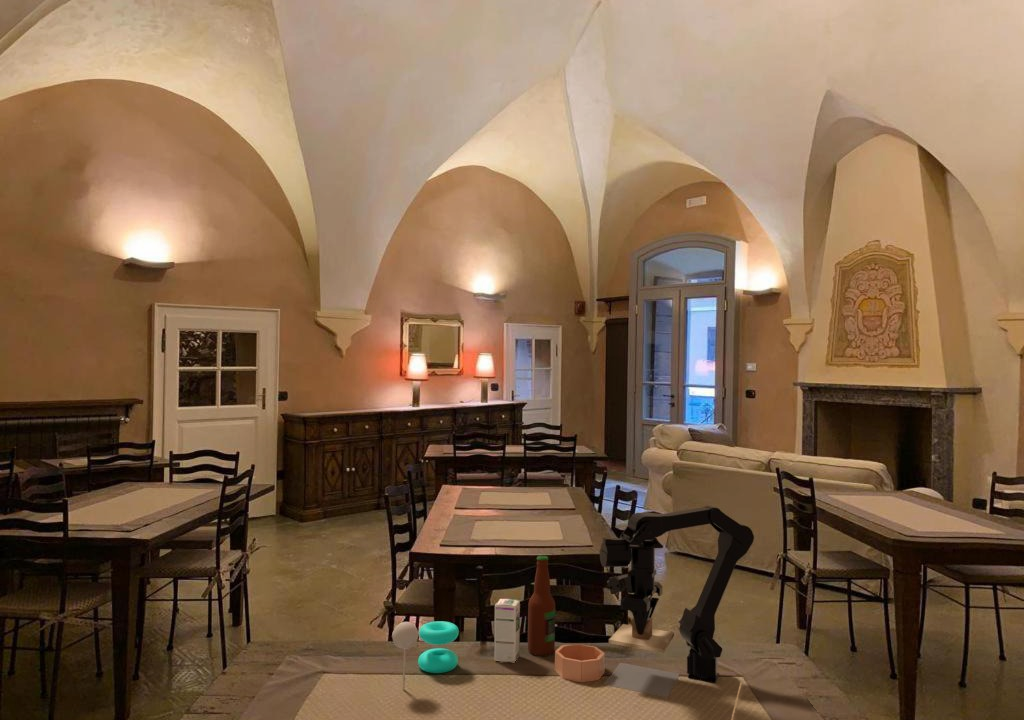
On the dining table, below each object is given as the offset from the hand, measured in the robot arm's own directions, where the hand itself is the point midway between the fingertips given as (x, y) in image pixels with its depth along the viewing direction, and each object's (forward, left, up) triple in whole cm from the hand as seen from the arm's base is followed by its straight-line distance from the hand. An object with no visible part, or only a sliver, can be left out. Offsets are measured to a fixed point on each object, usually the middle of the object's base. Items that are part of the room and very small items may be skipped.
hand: (642, 631), depth 154 cm
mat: (0, 0, -12) cm, 12 cm away
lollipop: (+48, +31, -12) cm, 58 cm away
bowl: (+15, +3, -12) cm, 19 cm away
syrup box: (+35, +3, -12) cm, 37 cm away
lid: (0, 0, -2) cm, 2 cm away
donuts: (+48, +16, -12) cm, 52 cm away
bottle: (+29, -6, -12) cm, 32 cm away
